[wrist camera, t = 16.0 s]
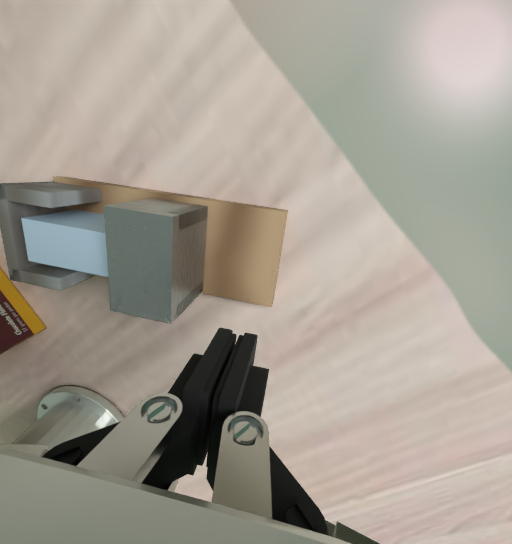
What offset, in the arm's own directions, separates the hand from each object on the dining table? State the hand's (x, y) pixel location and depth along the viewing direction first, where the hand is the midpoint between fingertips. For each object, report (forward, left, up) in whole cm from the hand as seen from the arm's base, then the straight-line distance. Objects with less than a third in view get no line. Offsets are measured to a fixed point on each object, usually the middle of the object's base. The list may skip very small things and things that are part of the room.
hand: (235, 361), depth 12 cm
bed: (+1, +10, -13) cm, 16 cm away
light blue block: (+1, +13, -12) cm, 17 cm away
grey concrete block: (+1, +8, -11) cm, 14 cm away
